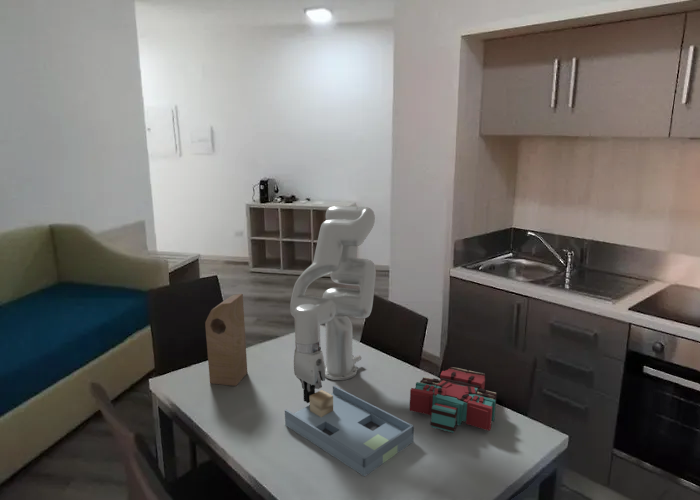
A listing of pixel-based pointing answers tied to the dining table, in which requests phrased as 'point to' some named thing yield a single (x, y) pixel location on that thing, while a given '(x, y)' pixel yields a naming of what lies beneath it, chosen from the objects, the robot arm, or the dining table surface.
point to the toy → (455, 400)
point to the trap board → (353, 431)
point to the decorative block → (227, 342)
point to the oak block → (321, 403)
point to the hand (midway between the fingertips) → (309, 400)
